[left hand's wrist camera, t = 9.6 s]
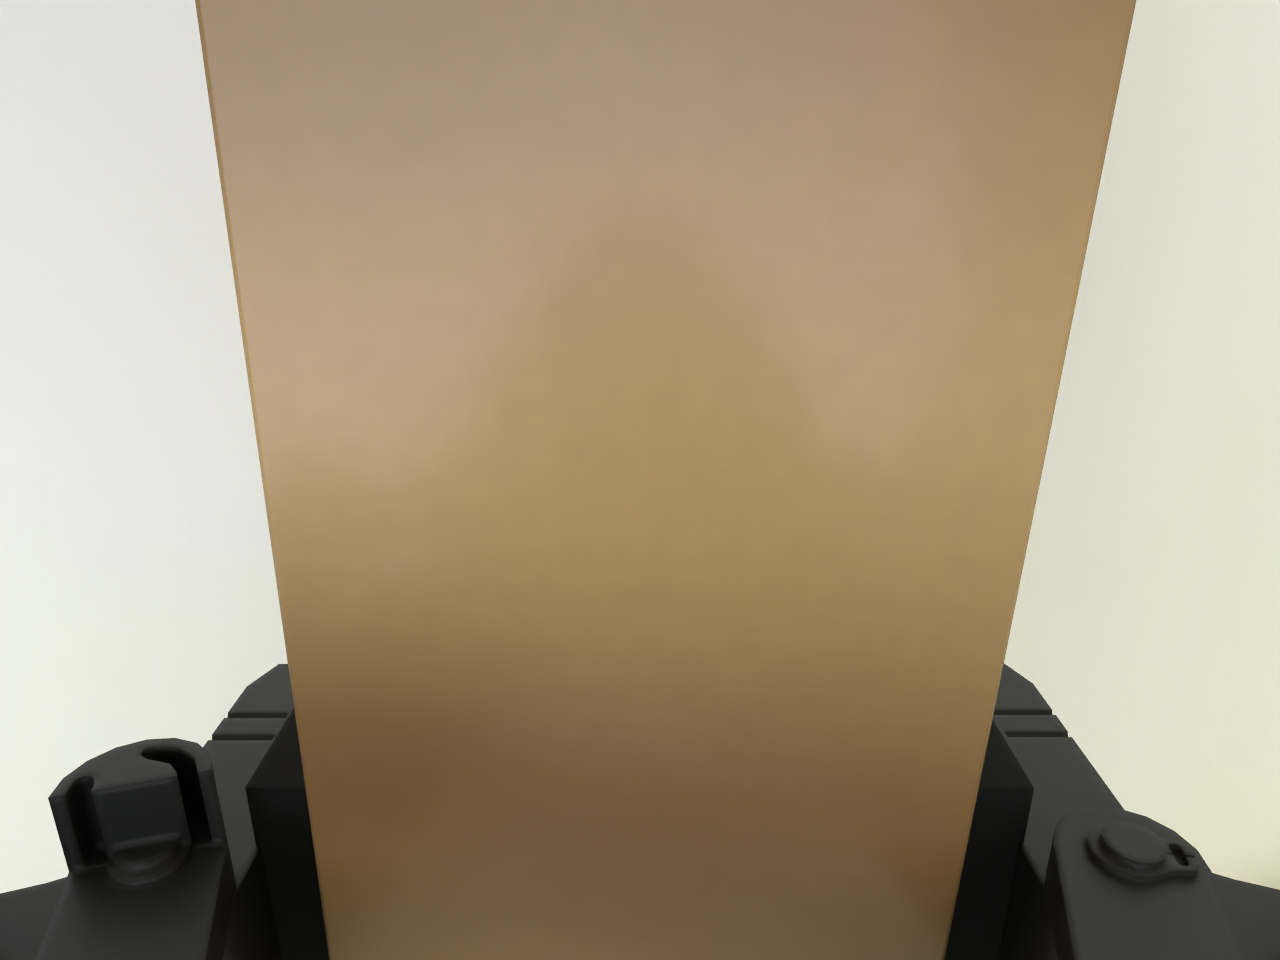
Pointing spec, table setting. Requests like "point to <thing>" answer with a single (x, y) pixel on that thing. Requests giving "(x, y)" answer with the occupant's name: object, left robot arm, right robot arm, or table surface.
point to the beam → (652, 446)
